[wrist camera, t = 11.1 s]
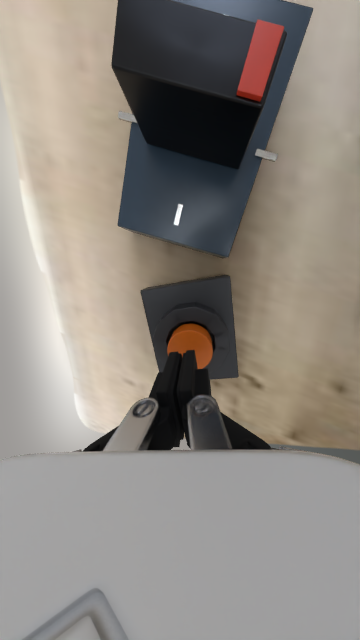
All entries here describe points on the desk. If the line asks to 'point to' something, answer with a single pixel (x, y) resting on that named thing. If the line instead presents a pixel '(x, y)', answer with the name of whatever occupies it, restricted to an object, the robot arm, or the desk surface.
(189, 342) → the button
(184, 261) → the desk surface
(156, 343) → the button box
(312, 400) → the desk surface
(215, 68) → the black box red end
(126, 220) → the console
